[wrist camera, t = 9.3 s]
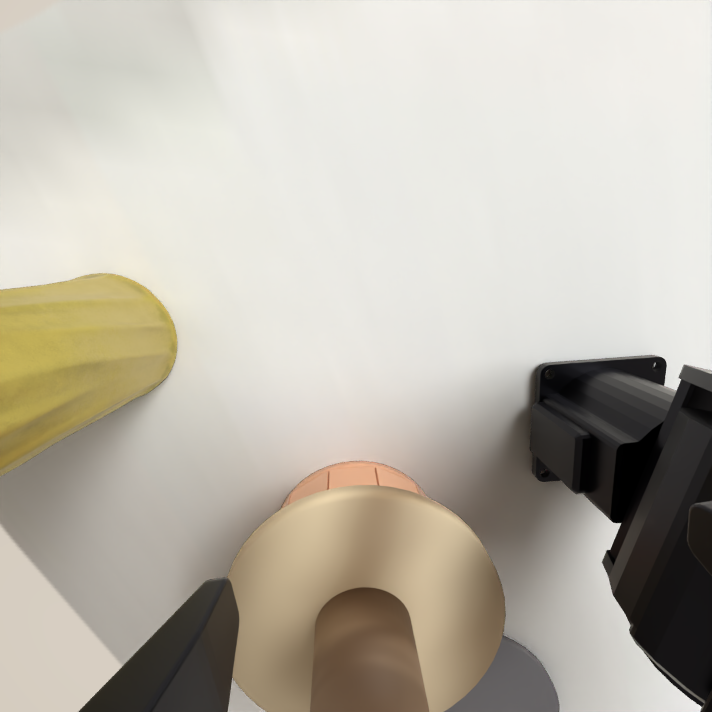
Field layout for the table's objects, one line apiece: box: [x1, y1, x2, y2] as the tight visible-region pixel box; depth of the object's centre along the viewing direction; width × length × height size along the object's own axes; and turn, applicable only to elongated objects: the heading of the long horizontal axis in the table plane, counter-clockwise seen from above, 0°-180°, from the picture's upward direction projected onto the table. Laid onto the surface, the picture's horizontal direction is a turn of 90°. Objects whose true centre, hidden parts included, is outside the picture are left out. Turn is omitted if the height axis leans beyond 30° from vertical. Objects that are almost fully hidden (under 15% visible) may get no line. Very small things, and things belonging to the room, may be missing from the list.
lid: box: [227, 485, 505, 712], centre depth 15 cm, size 12×12×4 cm
